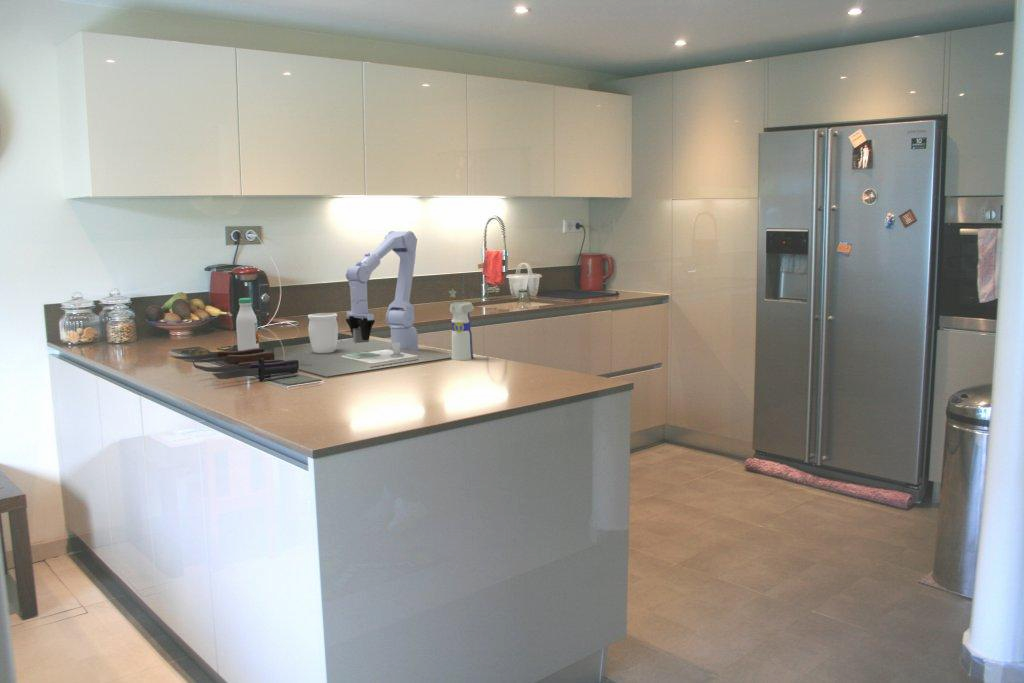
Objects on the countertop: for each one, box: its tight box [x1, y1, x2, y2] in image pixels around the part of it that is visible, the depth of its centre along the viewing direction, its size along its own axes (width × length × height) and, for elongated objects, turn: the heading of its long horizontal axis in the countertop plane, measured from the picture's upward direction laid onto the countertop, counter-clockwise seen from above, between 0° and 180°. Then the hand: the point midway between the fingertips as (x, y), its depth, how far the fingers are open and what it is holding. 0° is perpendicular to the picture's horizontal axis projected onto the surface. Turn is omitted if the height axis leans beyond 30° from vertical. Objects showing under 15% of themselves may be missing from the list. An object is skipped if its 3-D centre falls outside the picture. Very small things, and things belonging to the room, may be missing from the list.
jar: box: [307, 312, 339, 354], centre depth 302 cm, size 11×10×15 cm
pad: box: [343, 351, 380, 359], centre depth 291 cm, size 9×9×1 cm
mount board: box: [340, 343, 419, 369], centre depth 290 cm, size 19×20×6 cm
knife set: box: [170, 347, 300, 382], centre depth 270 cm, size 35×33×8 cm
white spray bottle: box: [448, 288, 475, 361], centre depth 289 cm, size 8×9×25 cm
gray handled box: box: [352, 327, 370, 344], centre depth 290 cm, size 5×5×5 cm
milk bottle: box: [235, 297, 260, 351], centre depth 315 cm, size 8×8×20 cm
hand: (360, 339), depth 291 cm, fingers closed on gray handled box, 6 cm apart
